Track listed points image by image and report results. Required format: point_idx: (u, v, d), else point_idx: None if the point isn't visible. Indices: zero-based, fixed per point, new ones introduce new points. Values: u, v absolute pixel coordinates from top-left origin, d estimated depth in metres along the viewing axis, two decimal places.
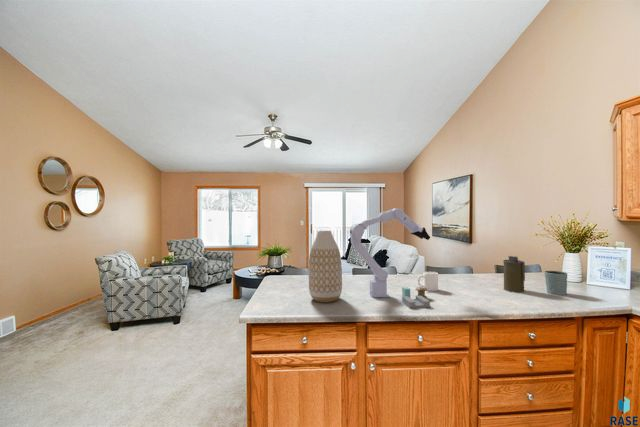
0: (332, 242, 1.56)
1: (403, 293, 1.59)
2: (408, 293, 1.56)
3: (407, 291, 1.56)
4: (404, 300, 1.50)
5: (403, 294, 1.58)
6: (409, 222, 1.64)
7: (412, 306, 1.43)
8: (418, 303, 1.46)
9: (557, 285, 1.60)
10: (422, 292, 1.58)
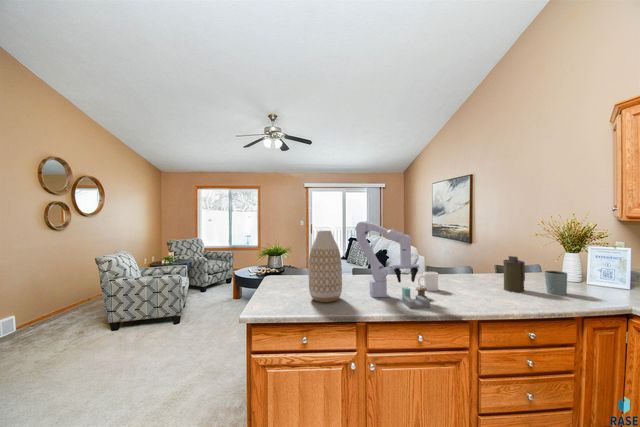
0: (332, 242, 1.56)
1: (403, 293, 1.59)
2: (408, 293, 1.56)
3: (407, 291, 1.56)
4: (404, 300, 1.50)
5: (403, 294, 1.58)
6: (404, 256, 1.56)
7: (412, 306, 1.43)
8: (418, 303, 1.46)
9: (557, 285, 1.60)
10: (422, 292, 1.58)
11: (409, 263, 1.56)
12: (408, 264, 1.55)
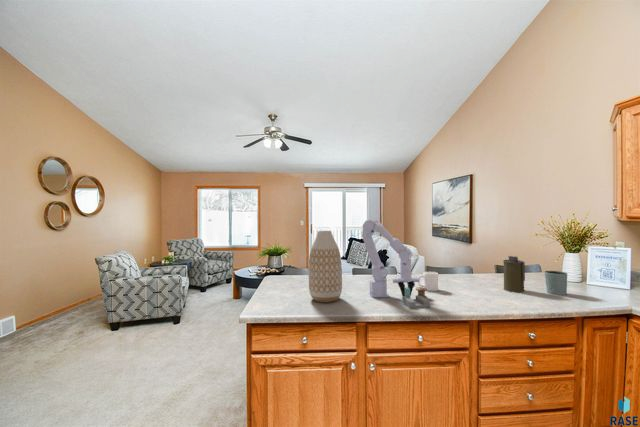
0: (332, 242, 1.56)
1: None
2: (408, 293, 1.56)
3: (407, 291, 1.56)
4: (404, 300, 1.50)
5: None
6: (404, 270, 1.56)
7: (412, 306, 1.43)
8: (418, 303, 1.46)
9: (557, 285, 1.60)
10: (422, 292, 1.58)
11: (409, 277, 1.56)
12: (408, 278, 1.55)
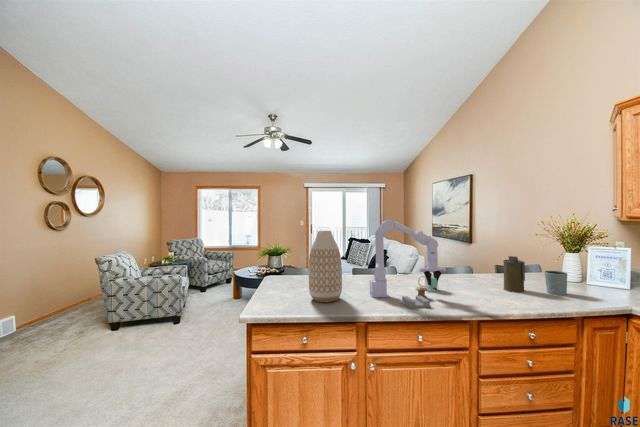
0: (332, 242, 1.56)
1: None
2: (435, 283, 1.56)
3: (433, 281, 1.56)
4: (404, 300, 1.50)
5: None
6: (432, 259, 1.56)
7: (412, 306, 1.43)
8: (418, 303, 1.46)
9: (557, 285, 1.60)
10: (422, 292, 1.58)
11: (436, 266, 1.56)
12: (435, 267, 1.56)
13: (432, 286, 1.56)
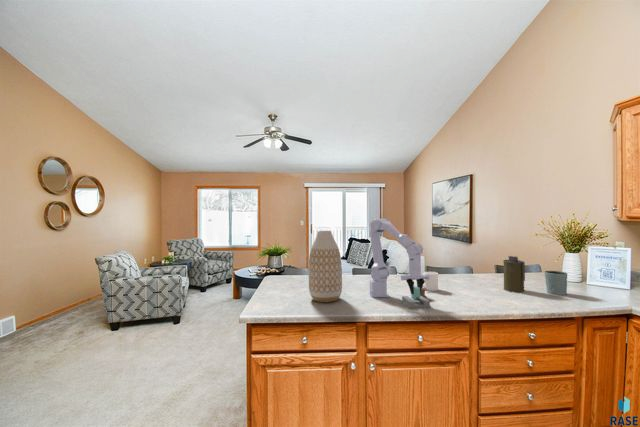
0: (332, 242, 1.56)
1: None
2: (418, 293, 1.46)
3: (416, 290, 1.46)
4: (404, 300, 1.50)
5: (412, 294, 1.48)
6: (411, 266, 1.46)
7: (412, 306, 1.43)
8: (418, 303, 1.46)
9: (557, 285, 1.60)
10: (422, 292, 1.58)
11: (419, 274, 1.46)
12: (418, 275, 1.45)
13: (415, 296, 1.46)
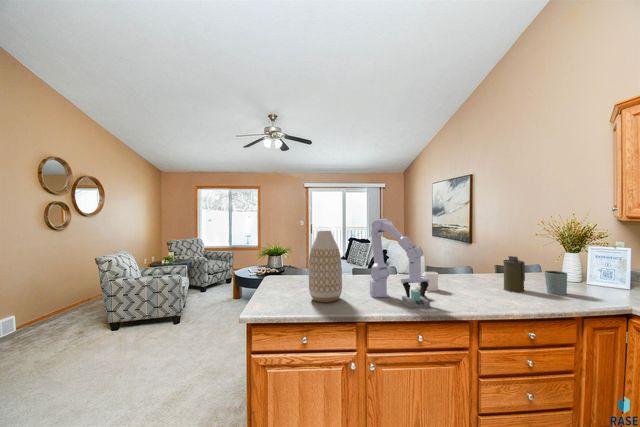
0: (332, 242, 1.56)
1: (412, 295, 1.49)
2: (418, 296, 1.46)
3: (416, 294, 1.46)
4: (404, 300, 1.50)
5: (412, 297, 1.48)
6: (412, 269, 1.46)
7: (412, 306, 1.43)
8: None
9: (557, 285, 1.60)
10: None
11: (419, 277, 1.46)
12: (418, 278, 1.45)
13: (415, 299, 1.46)
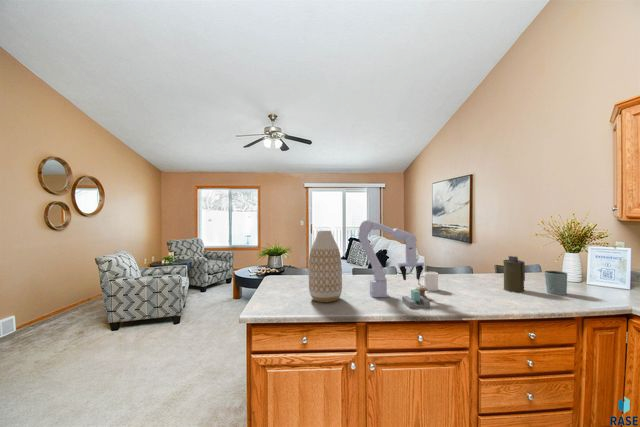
0: (332, 242, 1.56)
1: (412, 295, 1.49)
2: (418, 296, 1.46)
3: (416, 294, 1.46)
4: (404, 300, 1.50)
5: (412, 297, 1.48)
6: (411, 254, 1.58)
7: (412, 306, 1.43)
8: None
9: (557, 285, 1.60)
10: (422, 292, 1.58)
11: (414, 261, 1.58)
12: (413, 262, 1.58)
13: (415, 299, 1.46)
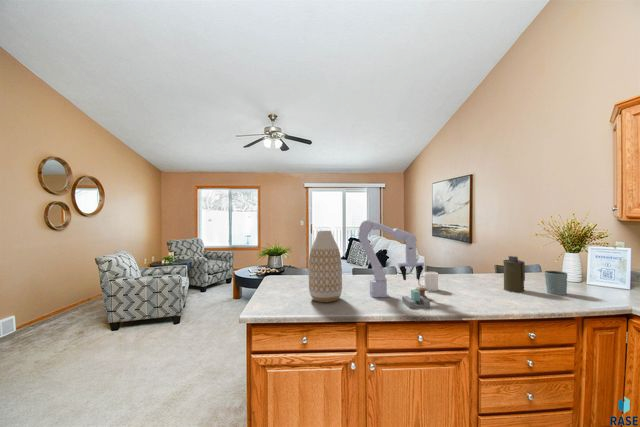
0: (332, 242, 1.56)
1: (412, 295, 1.49)
2: (418, 296, 1.46)
3: (416, 294, 1.46)
4: (404, 300, 1.50)
5: (412, 297, 1.48)
6: (411, 254, 1.58)
7: (412, 306, 1.43)
8: None
9: (557, 285, 1.60)
10: (422, 292, 1.58)
11: (414, 261, 1.58)
12: (413, 262, 1.58)
13: (415, 299, 1.46)
